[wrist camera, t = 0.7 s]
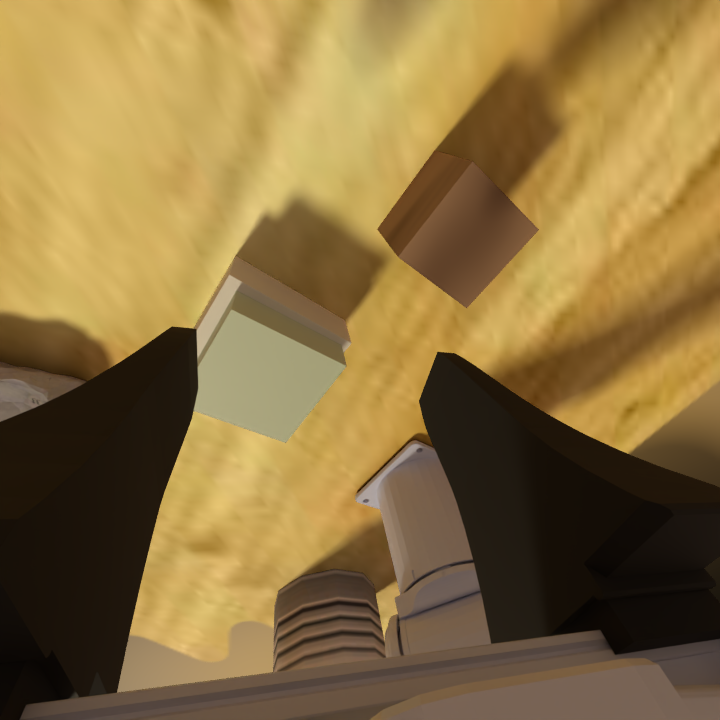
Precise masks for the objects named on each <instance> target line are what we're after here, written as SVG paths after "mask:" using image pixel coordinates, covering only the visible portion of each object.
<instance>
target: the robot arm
mask: <svg viewBox="0 0 720 720" xmlns="http://www.w3.org/2000/svg"><path fill="white" fill-rule="evenodd" d="M197 392H198V360H197V329H192V328H181V327H171V328H169V329H168V330H166V331H165V332H163V333H162V334H161V335H159V336H158V337H156V338H155V339H154V340H152V341H151V342H149V343H148V344H146V345H145V346H144V347H142V348H141V349H139V350H138V351H136V352H135V353H133V354H132V355H130V356H129V357H127V358H126V359H124V360H123V361H121V362H120V363H118V364H116V365H115V366H113V367H111V368H110V369H108V370H106V371H104V372H103V373H101V374H99V375H98V376H96V377H94V378H93V379H91V380H89V381H88V382H86V383H84V384H82V385H80V386H78V387H77V388H75V389H73V390H71V391H69V392H67V393H65V394H63V395H61V396H59V397H56V398H54V399H52V400H50V401H48V402H46V403H44V404H42V405H40V406H37V407H35V408H33V409H30V410H28V411H25V412H23V413H21V414H18V415H16V416H13V417H11V418H8V419H6V420H3V421H1V422H0V720H720V602H719V601H718V600H717V599H716V597H715V596H714V595H713V594H712V593H711V592H710V591H709V589H711V588H713V587H715V586H716V583H715V580H714V579H713V578H712V577H711V576H710V575H709V574H708V573H707V571H706V570H705V569H704V568H705V567H706V566H708V565H709V564H710V563H712V562H713V561H714V560H715V559H717V558H718V557H720V488H719V487H717V486H715V485H712V484H709V483H706V482H703V481H700V480H697V479H694V478H692V477H689V476H686V475H683V474H680V473H677V472H674V471H671V470H668V469H665V468H662V467H660V466H657V465H654V464H651V463H649V462H647V461H644V460H641V459H639V458H636V457H634V456H631V455H629V454H627V453H624V452H622V451H620V450H617V449H615V448H613V447H611V446H608V445H606V444H604V443H602V442H600V441H598V440H596V439H593V438H591V437H589V436H587V435H585V434H583V433H581V432H579V431H577V430H575V429H573V428H571V427H570V426H568V425H566V424H564V423H562V422H561V421H559V420H557V419H555V418H553V417H551V416H550V415H548V414H546V413H545V412H543V411H541V410H540V409H538V408H536V407H535V406H533V405H532V404H530V403H529V402H527V401H525V400H524V399H522V398H521V397H519V396H518V395H516V394H515V393H513V392H512V391H510V390H509V389H507V388H506V387H505V386H503V385H502V384H500V383H499V382H497V381H496V380H495V379H493V378H492V377H490V376H489V375H487V374H486V373H485V372H483V371H482V370H480V369H479V368H477V367H476V366H475V365H473V364H472V363H470V362H469V361H467V360H465V359H464V358H462V357H460V356H459V355H457V354H455V353H444V352H437V355H436V358H435V360H434V363H433V366H432V368H431V371H430V373H429V376H428V379H427V381H426V384H425V387H424V389H423V392H422V395H421V397H420V400H419V403H420V407H421V411H422V416H423V419H424V423H425V426H426V429H427V432H428V434H429V437H430V439H431V442H432V444H433V446H434V448H432V447H430V446H428V445H426V444H424V443H421V442H419V441H416V440H414V441H411V442H410V443H409V444H408V445H406V446H405V447H404V448H403V449H402V450H401V451H400V452H399V453H398V454H397V455H396V456H395V457H394V458H393V459H392V460H391V461H390V462H389V463H388V464H387V465H386V466H385V467H384V468H383V469H382V470H381V471H380V472H379V473H378V474H377V475H376V476H375V477H374V478H373V479H372V480H371V481H370V482H369V483H367V484H366V485H365V486H364V487H363V488H362V489H361V490H360V491H359V492H358V493H357V494H356V495H355V500H356V502H358V503H361V504H365V505H368V506H371V507H374V508H377V509H380V511H381V515H382V519H383V524H384V528H385V532H386V536H387V541H388V545H389V549H390V553H391V557H392V562H393V566H394V570H395V574H396V578H397V583H398V587H399V591H400V595H399V596H397V597H395V602H396V607H397V611H398V614H396V615H394V616H392V617H391V618H390V620H389V623H388V627H387V630H386V633H385V653H386V658H379V659H372V660H364V661H356V662H349V663H341V664H333V665H326V666H318V667H310V668H303V669H295V670H287V671H280V672H272V673H265V674H257V675H249V676H241V677H234V678H226V679H219V680H211V681H203V682H195V683H188V684H180V685H172V686H165V687H157V688H149V689H142V690H134V691H127V692H119V693H117V689H118V684H119V679H120V675H121V669H122V666H123V661H124V656H125V651H126V646H127V642H128V637H129V632H130V628H131V624H132V619H133V615H134V610H135V606H136V602H137V597H138V593H139V588H140V584H141V580H142V576H143V571H144V567H145V563H146V559H147V555H148V551H149V547H150V543H151V539H152V535H153V531H154V527H155V523H156V519H157V515H158V512H159V508H160V504H161V501H162V498H163V495H164V492H165V489H166V486H167V483H168V481H169V478H170V475H171V473H172V470H173V467H174V465H175V462H176V459H177V457H178V454H179V452H180V449H181V446H182V444H183V441H184V438H185V435H186V433H187V430H188V427H189V425H190V422H191V419H192V415H193V411H194V406H195V402H196V397H197ZM418 448H419V449H418Z"/></svg>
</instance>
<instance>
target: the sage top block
mask: <svg viewBox="0 0 720 720" xmlns="http://www.w3.org/2000/svg"><path fill="white" fill-rule="evenodd" d="M197 360H198V392H197V397H196V402H195V406H194V411H196V412H198V413H201V414H204V415H207V416H210V417H213V418H216V419H219V420H221V421H224V422H227V423H230V424H233V425H236V426H239V427H242V428H244V429H247V430H250V431H253V432H256V433H259V434H262V435H265V436H267V437H270V438H273V439H276V440H279V441H282V442H285V443H286V442H287V441H288V439H289V438H290V437H291V436H292V434H293V433H294V432H295V431H296V429H297V428H298V427H299V426H300V424H301V423H302V422H303V421H304V419H305V418H306V417H307V415H308V414H309V413H310V412H311V410H312V409H313V408H314V407H315V405H316V404H317V403H318V402H319V400H320V399H321V398H322V397H323V395H324V394H325V393H326V391H327V390H328V389H329V388H330V386H331V385H332V384H333V383H334V381H335V380H336V379H337V378H338V376H339V375H340V374H341V373H342V371H343V370H344V369H345V367H346V362H345V357H344V353H343V349H342V345H341V344H339V343H337V342H335V341H333V340H331V339H329V338H327V337H325V336H324V335H322V334H320V333H318V332H316V331H314V330H312V329H310V328H308V327H306V326H304V325H302V324H300V323H299V322H297V321H295V320H293V319H291V318H289V317H287V316H285V315H283V314H281V313H279V312H277V311H275V310H274V309H272V308H270V307H268V306H266V305H264V304H262V303H260V302H258V301H256V300H254V299H252V298H250V297H249V296H247V295H245V294H243V293H241V292H239V291H237V290H236V292H235V294H234V296H233V297H232V299H231V301H230V303H229V304H228V306H227V308H226V310H225V311H224V313H223V315H222V317H221V318H220V320H219V322H218V324H217V325H216V327H215V329H214V331H213V332H212V334H211V336H210V338H209V339H208V341H207V343H206V345H205V346H204V348H203V350H202V352H201V354H200V355H199V357H198V359H197Z"/></svg>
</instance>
